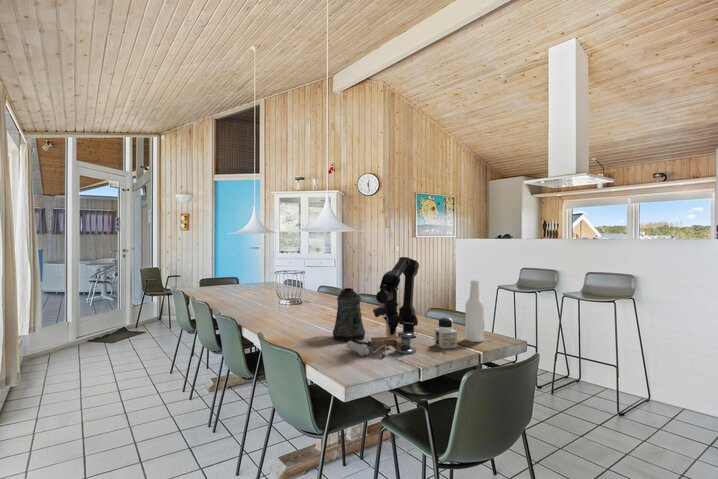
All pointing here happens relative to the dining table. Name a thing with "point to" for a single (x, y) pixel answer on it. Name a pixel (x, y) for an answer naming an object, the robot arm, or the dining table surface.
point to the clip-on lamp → (362, 347)
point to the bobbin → (405, 343)
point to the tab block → (389, 331)
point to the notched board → (385, 341)
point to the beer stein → (348, 317)
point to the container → (446, 334)
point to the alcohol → (474, 315)
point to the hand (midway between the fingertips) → (390, 333)
